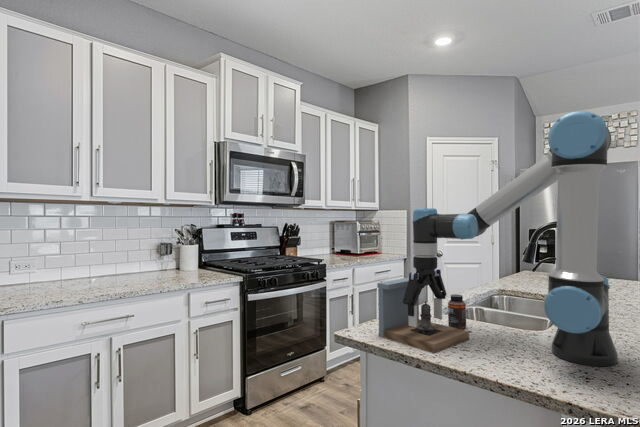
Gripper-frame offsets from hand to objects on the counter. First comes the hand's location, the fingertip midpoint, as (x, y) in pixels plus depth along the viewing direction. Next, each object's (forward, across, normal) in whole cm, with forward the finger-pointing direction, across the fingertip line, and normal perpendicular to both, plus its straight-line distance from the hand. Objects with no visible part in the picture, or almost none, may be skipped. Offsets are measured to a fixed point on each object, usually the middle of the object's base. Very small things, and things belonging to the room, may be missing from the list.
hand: (425, 322), depth 125 cm
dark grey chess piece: (+5, 0, 0) cm, 5 cm away
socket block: (+5, 0, 0) cm, 5 cm away
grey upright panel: (+5, 0, -9) cm, 11 cm away
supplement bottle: (+5, -18, 0) cm, 19 cm away
